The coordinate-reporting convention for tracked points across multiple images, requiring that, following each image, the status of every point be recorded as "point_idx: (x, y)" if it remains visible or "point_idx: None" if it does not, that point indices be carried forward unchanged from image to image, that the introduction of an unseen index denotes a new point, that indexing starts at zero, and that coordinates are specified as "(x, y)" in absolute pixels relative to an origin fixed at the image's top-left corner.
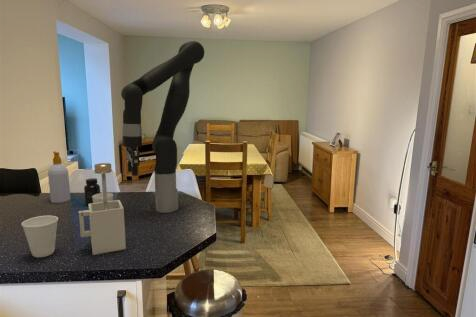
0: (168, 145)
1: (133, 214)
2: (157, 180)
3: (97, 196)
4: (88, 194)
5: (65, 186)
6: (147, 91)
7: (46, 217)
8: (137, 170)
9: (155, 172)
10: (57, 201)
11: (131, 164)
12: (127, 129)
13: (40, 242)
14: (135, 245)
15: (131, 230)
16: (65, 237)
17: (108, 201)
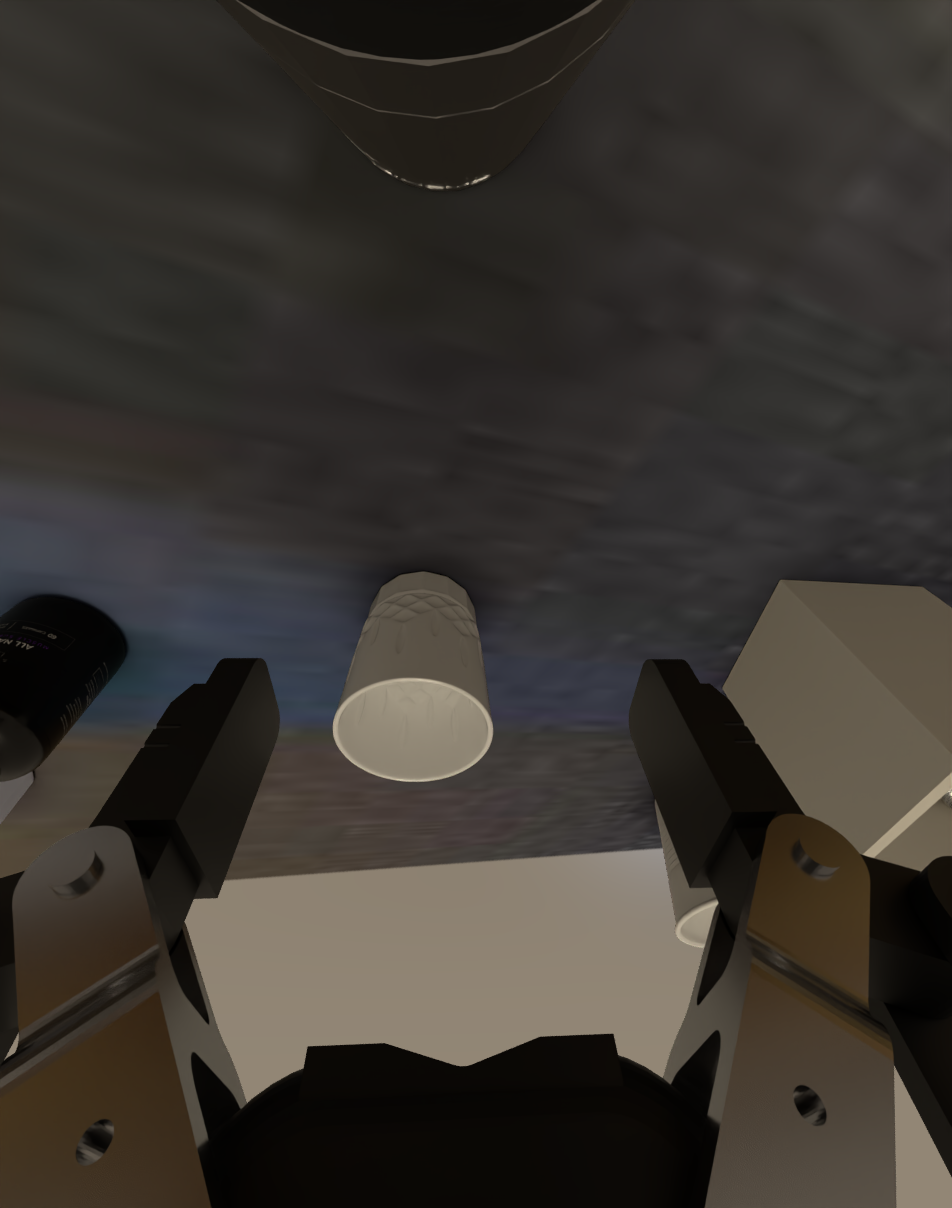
0: None
1: (424, 434)
2: (546, 81)
3: (356, 741)
4: (75, 721)
5: None
6: None
7: (689, 907)
8: (722, 733)
9: (475, 45)
10: (28, 780)
11: (208, 817)
12: None
13: None
14: (933, 541)
15: (725, 516)
16: (586, 750)
17: (911, 812)
